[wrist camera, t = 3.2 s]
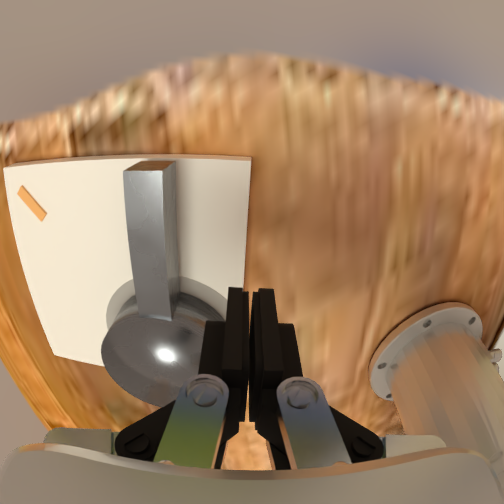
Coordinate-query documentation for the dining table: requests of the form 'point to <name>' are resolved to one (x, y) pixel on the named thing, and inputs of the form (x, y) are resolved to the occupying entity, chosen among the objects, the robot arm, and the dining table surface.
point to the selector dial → (155, 295)
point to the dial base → (119, 238)
